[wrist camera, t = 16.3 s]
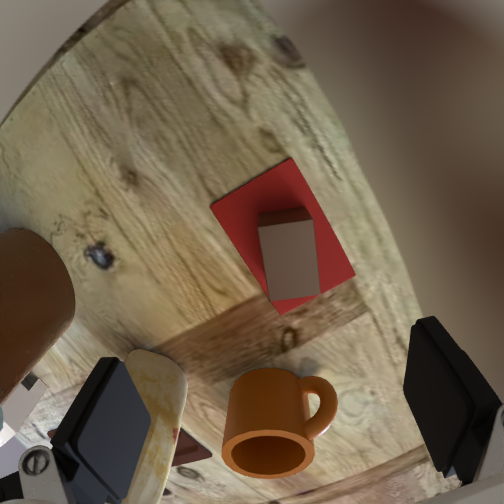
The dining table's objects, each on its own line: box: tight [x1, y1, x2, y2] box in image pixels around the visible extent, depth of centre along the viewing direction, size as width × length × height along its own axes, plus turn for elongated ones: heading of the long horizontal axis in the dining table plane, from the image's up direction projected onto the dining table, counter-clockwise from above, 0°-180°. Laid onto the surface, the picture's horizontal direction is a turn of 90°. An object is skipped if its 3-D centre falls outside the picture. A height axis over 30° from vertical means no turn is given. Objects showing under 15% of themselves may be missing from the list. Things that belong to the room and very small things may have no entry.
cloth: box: [210, 158, 356, 315], centre depth 28 cm, size 12×8×1 cm, turn 31°
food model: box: [105, 349, 188, 504], centre depth 25 cm, size 10×7×20 cm
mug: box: [222, 368, 338, 479], centre depth 30 cm, size 9×12×9 cm
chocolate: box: [257, 206, 321, 302], centre depth 26 cm, size 6×4×4 cm, turn 9°
